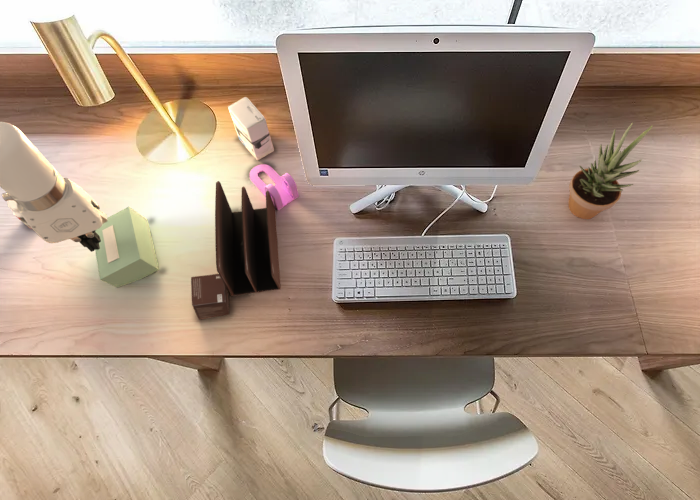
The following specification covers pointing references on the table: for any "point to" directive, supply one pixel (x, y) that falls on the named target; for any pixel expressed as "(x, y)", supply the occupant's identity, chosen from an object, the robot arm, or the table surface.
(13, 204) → the pill bottle
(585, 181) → the potted plant
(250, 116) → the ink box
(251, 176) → the bracket
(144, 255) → the tissue box
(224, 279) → the letter holder
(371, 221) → the table surface
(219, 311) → the box
